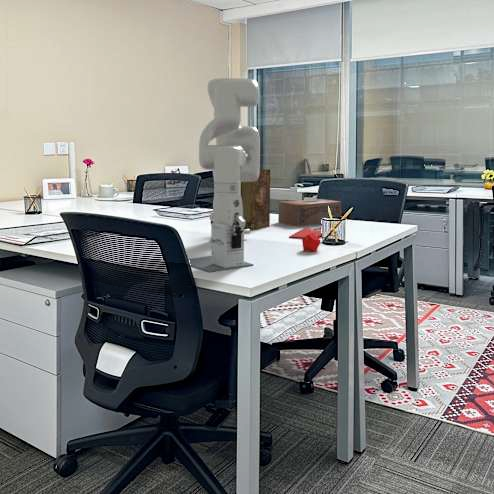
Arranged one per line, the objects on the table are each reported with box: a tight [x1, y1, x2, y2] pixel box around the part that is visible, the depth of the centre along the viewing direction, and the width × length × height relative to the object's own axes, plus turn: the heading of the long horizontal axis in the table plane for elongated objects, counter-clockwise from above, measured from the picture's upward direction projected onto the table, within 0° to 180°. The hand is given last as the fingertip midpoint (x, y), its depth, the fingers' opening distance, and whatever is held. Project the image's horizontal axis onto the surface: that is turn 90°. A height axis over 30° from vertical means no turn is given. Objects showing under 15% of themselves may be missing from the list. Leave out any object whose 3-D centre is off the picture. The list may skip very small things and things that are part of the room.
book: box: [240, 168, 271, 231], centre depth 249 cm, size 16×6×25 cm, turn 146°
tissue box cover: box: [277, 198, 342, 227], centre depth 268 cm, size 26×14×10 cm, turn 124°
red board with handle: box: [288, 226, 323, 240], centre depth 236 cm, size 30×3×15 cm
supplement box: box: [210, 222, 245, 268], centre depth 173 cm, size 7×7×13 cm
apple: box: [301, 233, 322, 253], centre depth 199 cm, size 7×7×8 cm
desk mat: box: [188, 255, 254, 273], centre depth 177 cm, size 16×18×1 cm
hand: (226, 245), depth 173 cm, fingers open, 9 cm apart
